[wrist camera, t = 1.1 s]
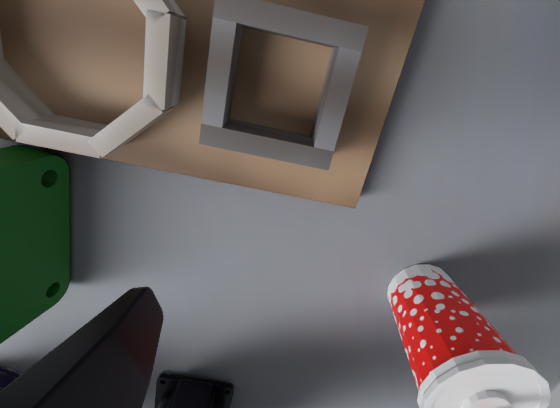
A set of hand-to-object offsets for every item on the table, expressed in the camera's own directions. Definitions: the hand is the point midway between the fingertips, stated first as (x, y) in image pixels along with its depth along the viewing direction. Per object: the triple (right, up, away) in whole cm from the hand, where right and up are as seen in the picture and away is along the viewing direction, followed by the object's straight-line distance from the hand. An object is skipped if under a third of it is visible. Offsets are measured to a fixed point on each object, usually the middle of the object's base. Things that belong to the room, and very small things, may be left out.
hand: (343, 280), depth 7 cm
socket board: (-6, +9, +11) cm, 16 cm away
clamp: (-19, +1, +15) cm, 24 cm away
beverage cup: (+9, -5, +17) cm, 20 cm away
